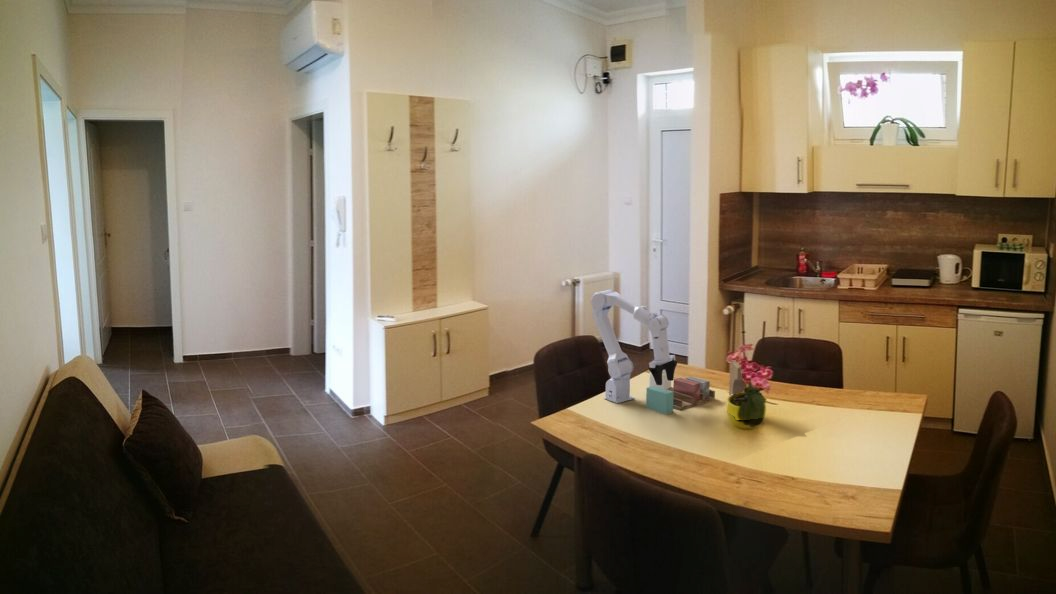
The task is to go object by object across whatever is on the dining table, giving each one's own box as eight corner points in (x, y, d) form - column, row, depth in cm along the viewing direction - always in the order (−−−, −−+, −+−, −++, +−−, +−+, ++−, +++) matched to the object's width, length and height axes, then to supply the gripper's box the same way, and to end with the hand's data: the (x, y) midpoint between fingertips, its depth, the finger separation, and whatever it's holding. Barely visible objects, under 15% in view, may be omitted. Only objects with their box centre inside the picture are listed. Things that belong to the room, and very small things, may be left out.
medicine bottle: (671, 387, 300) (672, 359, 298) (665, 391, 294) (665, 363, 292) (655, 384, 304) (656, 357, 302) (648, 388, 298) (649, 361, 296)
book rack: (679, 410, 271) (680, 389, 269) (655, 402, 280) (656, 382, 279) (714, 399, 283) (715, 380, 282) (691, 392, 293) (691, 373, 291)
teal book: (665, 414, 266) (666, 394, 265) (646, 407, 274) (646, 387, 273) (673, 412, 269) (673, 392, 267) (653, 405, 277) (653, 385, 275)
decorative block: (751, 421, 258) (753, 367, 255) (735, 420, 259) (737, 367, 255) (743, 411, 269) (745, 359, 266) (728, 410, 270) (730, 359, 266)
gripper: (658, 351, 262) (662, 387, 263) (680, 344, 273) (684, 378, 274) (643, 351, 267) (647, 386, 268) (664, 343, 278) (668, 378, 279)
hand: (664, 382), depth 271 cm, fingers open, 7 cm apart
